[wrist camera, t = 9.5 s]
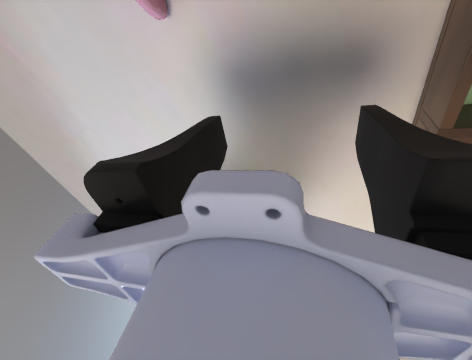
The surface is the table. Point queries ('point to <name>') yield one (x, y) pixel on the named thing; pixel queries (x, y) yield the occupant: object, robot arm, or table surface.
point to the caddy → (450, 79)
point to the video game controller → (154, 8)
